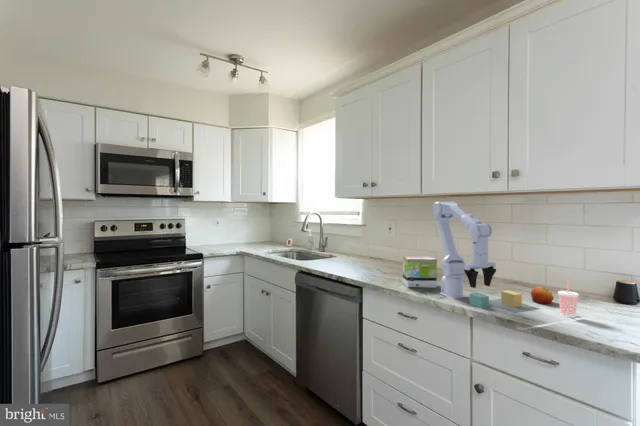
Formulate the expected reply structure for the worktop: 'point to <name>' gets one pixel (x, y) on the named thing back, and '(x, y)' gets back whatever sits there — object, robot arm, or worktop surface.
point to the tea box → (419, 271)
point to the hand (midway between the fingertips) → (480, 286)
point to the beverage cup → (568, 302)
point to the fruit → (541, 295)
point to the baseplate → (512, 309)
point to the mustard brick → (511, 298)
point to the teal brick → (479, 300)
